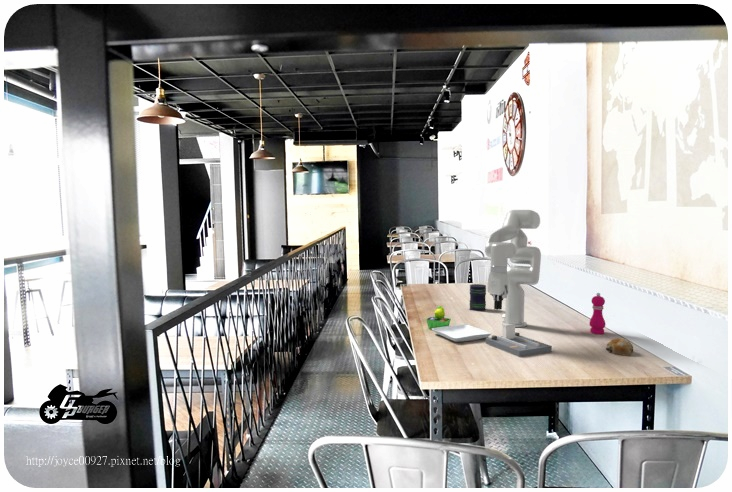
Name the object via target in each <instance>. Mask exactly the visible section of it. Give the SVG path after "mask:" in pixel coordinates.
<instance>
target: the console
mask: <svg viewBox="0 0 732 492" xmlns="http://www.w3.org/2000/svg"><path fill="white" fill-rule="evenodd" d="M485 344H486V345H488V346H491V347H494V348H495V349H498V350H501V351H503V352H506V353H509V354H511V355H512V356H513V355H514V356H515V357H518V358H519V357H520V358H521V357H524V356H525V357H526V356H532V355H539V354H543V353H551V352H552V350H553V345H551V344H550V345H549V344H547V343H543V342H541V341H538V340H535V339H532V338H529V337H527V336H523V335H520V332H516V331H515V338H514V339H506V338H503V335H501V336H500V335H495V334H493V335H492V334H491V337H486V338H485Z"/></svg>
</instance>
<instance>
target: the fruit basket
mask: <svg viewBox="0 0 732 492" xmlns="http://www.w3.org/2000/svg"><path fill="white" fill-rule="evenodd" d="M433 314H434V316H429V317H427V318H426V319H425V320H426V324H427V327H428V329H429V330H432V328H438V327H446V326H450V324H451V318H447V317H445V316H446V313H445V308H444V307H443V306H441V305H438V306H437V308H436V310H435V311H434V313H433Z"/></svg>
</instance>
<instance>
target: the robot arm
mask: <svg viewBox="0 0 732 492" xmlns="http://www.w3.org/2000/svg"><path fill="white" fill-rule="evenodd" d="M540 224H541V217H540V215H539V213H538V212H537V211H534V210H532V209H511V210H509V211H508V212H506V215H505V218H504V221H503V223H502V225H501V227H500V228H499V229H497V230H495V231H494V232H492V233H491V234H490V235H489V237H488V239H487V241H486V243H485V247H484V253H485V255H486V256H487V257H488V258H490V271H489V273H488V279H487V288H486V291H487V293H489V295H490V296H492V298H493V309H494V310H498V311H499V310H502V308H503V306H502V305H503V301H504V299H505V312H504V313H505V314H503V315H501V318H502V319H503V321H502V324H507V323H513V324H516V326H515V328H524V327H527V326H528V323H527V322H526V321H525V297H526V295H525V290H524V288H523V287H522V286H521V285H529V286H530V285H531V286H535V285H537V284H538V283H539V280H540V275H541V274H540V272H541V260H542V253H541V250H540V248H538V247H537V246H529V245H528V236H527V234H526V233H525V232H524V231H523V230H522V229H524V230H525V229H529V230H531V229H532V230H533V229H534V230H536V229H538V228H539V227H540ZM508 241H510V242H508ZM508 259H509V262H511V263H512V264H515V265H509V266H508ZM517 264H518V265H517ZM529 265H530V266H529ZM502 324H501V325H502Z"/></svg>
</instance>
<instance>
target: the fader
mask: <svg viewBox="0 0 732 492" xmlns="http://www.w3.org/2000/svg"><path fill="white" fill-rule="evenodd" d="M501 326H502V336H503V338H506V339H514V338H515V332H516V327H515V326H516V324H513V323H507V324H501Z"/></svg>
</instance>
